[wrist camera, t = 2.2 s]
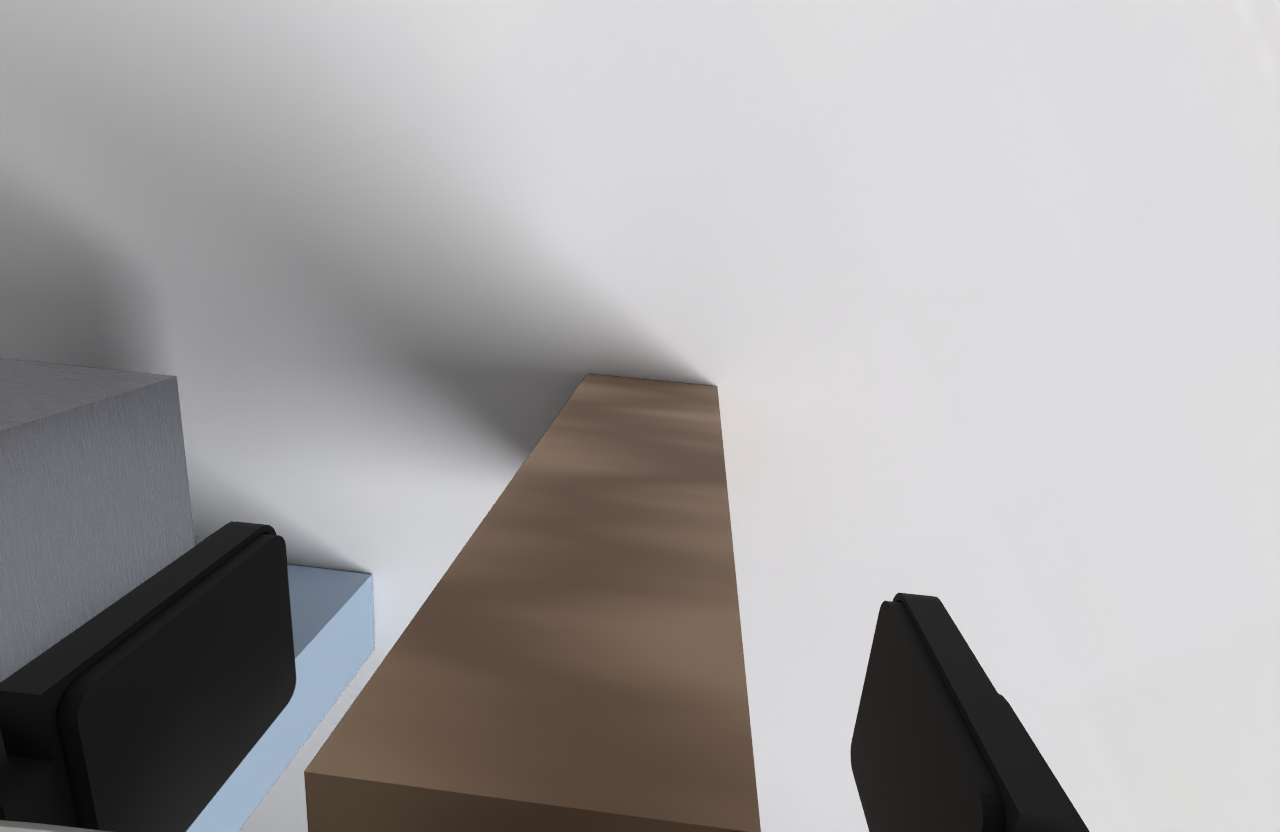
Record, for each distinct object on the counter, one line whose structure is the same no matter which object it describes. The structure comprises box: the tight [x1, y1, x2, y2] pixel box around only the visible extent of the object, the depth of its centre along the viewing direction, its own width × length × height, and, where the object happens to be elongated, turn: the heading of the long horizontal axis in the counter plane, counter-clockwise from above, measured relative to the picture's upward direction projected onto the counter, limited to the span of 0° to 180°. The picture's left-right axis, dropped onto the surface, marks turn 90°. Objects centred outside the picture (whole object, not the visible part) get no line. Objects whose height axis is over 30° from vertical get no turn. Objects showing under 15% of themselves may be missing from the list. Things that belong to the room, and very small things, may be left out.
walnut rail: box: [304, 374, 761, 832], centre depth 14 cm, size 4×4×16 cm
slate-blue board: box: [186, 564, 374, 832], centre depth 20 cm, size 14×3×10 cm, turn 85°
